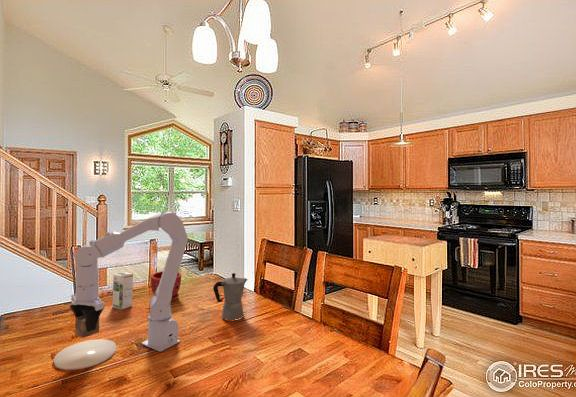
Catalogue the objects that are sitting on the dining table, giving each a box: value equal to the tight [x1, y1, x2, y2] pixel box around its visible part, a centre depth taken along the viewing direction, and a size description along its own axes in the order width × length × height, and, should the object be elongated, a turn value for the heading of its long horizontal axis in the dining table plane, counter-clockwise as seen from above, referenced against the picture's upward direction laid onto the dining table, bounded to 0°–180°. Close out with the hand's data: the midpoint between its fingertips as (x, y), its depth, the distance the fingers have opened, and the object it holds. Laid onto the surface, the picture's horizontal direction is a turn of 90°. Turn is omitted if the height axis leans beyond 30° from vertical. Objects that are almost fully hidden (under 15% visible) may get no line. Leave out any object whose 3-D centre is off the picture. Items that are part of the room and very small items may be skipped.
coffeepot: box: [212, 272, 249, 320], centre depth 126 cm, size 15×9×18 cm, turn 129°
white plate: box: [53, 338, 117, 371], centre depth 95 cm, size 16×16×1 cm
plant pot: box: [150, 270, 182, 302], centre depth 144 cm, size 13×13×12 cm
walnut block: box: [74, 315, 100, 339], centre depth 95 cm, size 5×5×5 cm
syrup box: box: [112, 271, 134, 311], centre depth 134 cm, size 6×6×14 cm
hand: (86, 328), depth 95 cm, fingers closed on walnut block, 5 cm apart
